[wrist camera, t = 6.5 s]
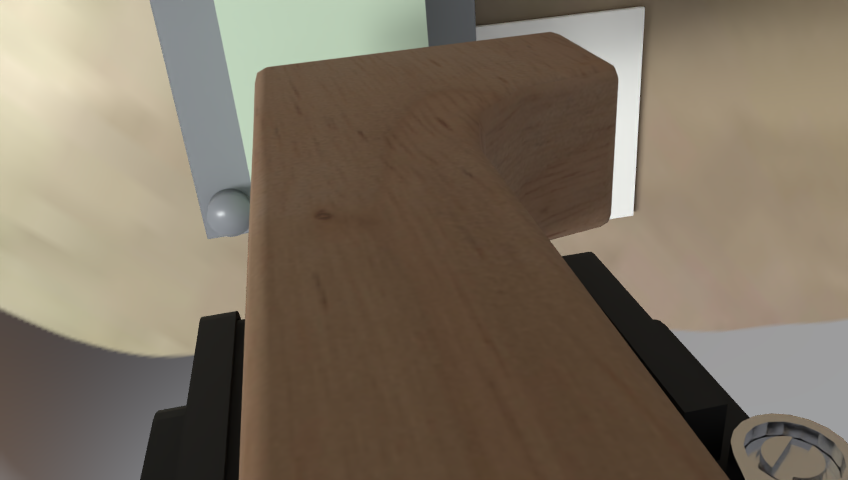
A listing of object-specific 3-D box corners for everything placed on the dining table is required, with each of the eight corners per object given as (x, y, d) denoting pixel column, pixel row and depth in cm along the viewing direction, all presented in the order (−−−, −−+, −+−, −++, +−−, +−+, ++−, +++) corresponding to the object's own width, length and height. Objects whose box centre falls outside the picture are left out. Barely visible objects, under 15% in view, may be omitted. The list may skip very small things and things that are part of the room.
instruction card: (641, 6, 32) (645, 7, 31) (630, 212, 36) (633, 215, 36) (464, 27, 30) (466, 29, 30) (475, 237, 35) (477, 240, 35)
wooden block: (558, 27, 21) (1367, 482, 6) (557, 167, 24) (1140, 777, 8) (251, 65, 20) (213, 773, 5) (279, 209, 22) (317, 1027, 7)
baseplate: (457, -103, 28) (492, -101, 24) (472, 180, 34) (503, 224, 29) (141, -73, 27) (116, -65, 22) (211, 219, 32) (201, 272, 28)
